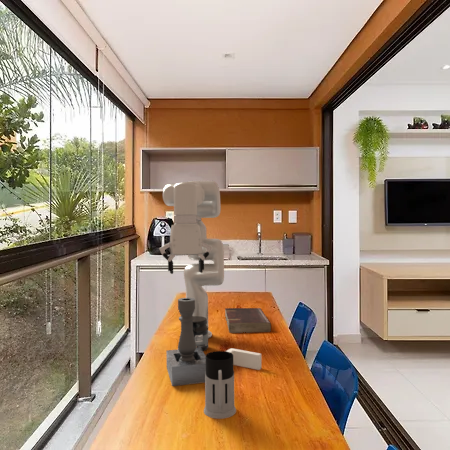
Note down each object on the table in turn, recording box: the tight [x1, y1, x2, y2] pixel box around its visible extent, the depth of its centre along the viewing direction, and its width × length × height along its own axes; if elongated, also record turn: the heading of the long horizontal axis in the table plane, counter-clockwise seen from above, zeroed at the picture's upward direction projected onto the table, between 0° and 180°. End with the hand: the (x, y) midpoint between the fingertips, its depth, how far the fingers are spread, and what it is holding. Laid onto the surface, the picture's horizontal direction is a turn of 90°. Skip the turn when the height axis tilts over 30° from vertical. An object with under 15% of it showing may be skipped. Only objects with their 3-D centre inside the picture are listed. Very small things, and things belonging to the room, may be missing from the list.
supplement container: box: [193, 316, 209, 352], centre depth 162 cm, size 10×10×12 cm
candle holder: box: [177, 297, 196, 362], centre depth 136 cm, size 6×6×25 cm
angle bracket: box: [225, 348, 262, 371], centre depth 143 cm, size 10×17×5 cm, turn 104°
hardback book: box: [224, 307, 272, 334], centre depth 199 cm, size 29×19×5 cm, turn 4°
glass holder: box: [203, 350, 237, 420], centre depth 108 cm, size 9×14×15 cm, turn 2°
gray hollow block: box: [166, 347, 206, 387], centre depth 136 cm, size 16×12×6 cm
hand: (186, 272), depth 136 cm, fingers open, 9 cm apart
